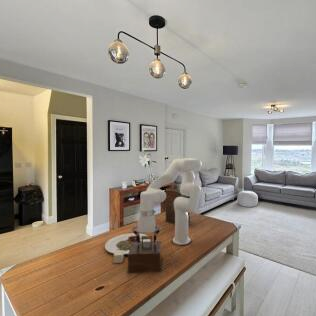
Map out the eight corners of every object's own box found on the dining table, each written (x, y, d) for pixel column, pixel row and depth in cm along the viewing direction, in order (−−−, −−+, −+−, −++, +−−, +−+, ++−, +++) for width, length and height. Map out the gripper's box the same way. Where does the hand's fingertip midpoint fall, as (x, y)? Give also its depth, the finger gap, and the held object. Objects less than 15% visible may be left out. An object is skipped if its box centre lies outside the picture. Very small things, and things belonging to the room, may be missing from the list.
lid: (133, 243, 116) (133, 234, 116) (161, 242, 118) (161, 233, 118) (128, 255, 102) (128, 246, 102) (160, 254, 104) (160, 244, 104)
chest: (132, 258, 116) (132, 244, 115) (160, 257, 117) (161, 243, 117) (128, 272, 103) (128, 255, 102) (159, 270, 104) (160, 254, 104)
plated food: (100, 259, 114) (100, 253, 114) (109, 237, 143) (109, 232, 143) (152, 253, 121) (152, 248, 121) (150, 234, 150) (150, 229, 150)
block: (115, 258, 115) (115, 251, 115) (123, 258, 116) (123, 251, 116) (113, 263, 111) (113, 255, 111) (121, 262, 111) (121, 255, 111)
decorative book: (189, 224, 171) (190, 190, 170) (185, 227, 165) (185, 191, 164) (169, 219, 184) (169, 187, 183) (164, 221, 178) (164, 188, 177)
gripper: (162, 210, 118) (161, 238, 119) (132, 210, 117) (132, 239, 117) (161, 214, 111) (161, 244, 112) (130, 215, 109) (130, 245, 110)
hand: (146, 241), depth 114 cm, fingers open, 8 cm apart
